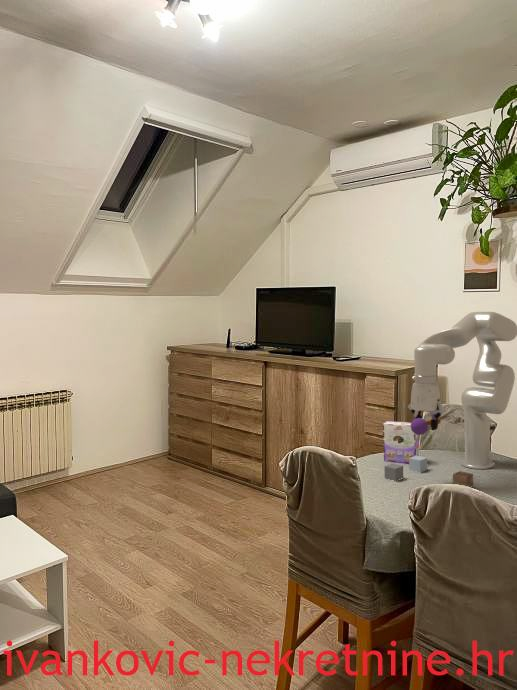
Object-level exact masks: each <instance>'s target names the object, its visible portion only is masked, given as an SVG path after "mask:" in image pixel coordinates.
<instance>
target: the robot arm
mask: <svg viewBox="0 0 517 690" xmlns="http://www.w3.org/2000/svg"><path fill="white" fill-rule="evenodd" d="M474 338H476V342H477V344H478V346H479V347H478V348H479V354H478V357H477V360H476V364H475V366H474V370H473V373H472V382H473V383H474V384H475V385H477V386H479V387H475V386H473V387H468V388H465V389H464V390H463V392H462V394H461V396H460V397H461V405H462V408H463V409H462V411H463V419H464V420H463V421H464V423H463V424H464V458H463V459H461V461H460V463H461V466H463V467H466V468H469V469H475V470H487V469H488V470H489V469H492V468H493V467H495V462H494V461H493V460H491V457H492V456H494V452H493V451H491V430H490V429H491V427H490V426H491V425H490V424H491V423H490V419H489V417H488V415H487V414H491V415H501V414H503V413H504V412H505V411H506V410H507V407H508V404H509V401H510V399H511V396H512V391H513V388H514V385H515V379H516V377H515V371H514V369H513V367H511V366H510V365H507V364H501V360H502V351H501V349H500V347H499V345H498V344H497V343H496V342H511V341H513V340H515V339H516V338H517V323H516V322H515V321H514V320H513V319H511V318H508V317H507V316H505V315H502V314H500V313H498V312H495V311H474V312H469V313H468V314H466V315H465V316H464V317H462V319H460V320H459V321H458V322H457V323H456V324H454V325H453V326H452V327H450V328H446V329H444V330H442V331H439V332H437V333H433V334H432V335H430V336H428V337H427V338H426V339H424V340H423V341H422V342H420V343H419V345H418V346H417V347H415V348H414V352H413V355H414V357H413V358H414V375H412V380H413V381H414V383H412V387H411V394H410V403H409V404H408V405H407V408H408V409H409V411H411V413H412V414H413V417H415V419H417V418H422V419H423V416H422V412H427V413H430V416H431V418H432V420H431V425H430V430H431V431H435V430H438V428H439V424H438V418H440V417H441V416H442V415H443V414H445V413H446V412H447V411H446V408H445V407H444V405H442V401H441V393H440V386H439V383H437V365H441V366H442V365H444V366H445V365H448V364H451V363H452V362H453V361H454V359H455V358H456V353H455V349H456V348H462V347H464V346H466V345H468V344H469V343H470V342H471V341H472V340H474ZM485 387H486V388H485Z"/></svg>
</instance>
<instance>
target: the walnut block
mask: <svg viewBox="0 0 517 690" xmlns="http://www.w3.org/2000/svg"><path fill="white" fill-rule="evenodd" d="M453 484H459V485H465V486H469V487H471V486H473V487H474V473H471V472H466V471H462V470H459V471H457V472H454V473H453V474H452V485H453Z"/></svg>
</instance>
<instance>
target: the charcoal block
mask: <svg viewBox="0 0 517 690" xmlns="http://www.w3.org/2000/svg"><path fill="white" fill-rule="evenodd" d="M385 478H386V479H385ZM401 478H403V479H404V465H400V464H397V463H394V462H391V463H389V464H387V465H385V466H384V479H385V480H387V479H390V480H389V481H391V480H394V481H393V482H395V481H396V482H398V481H400V480H399V479H401ZM397 480H398V481H397ZM401 480H402V479H401Z"/></svg>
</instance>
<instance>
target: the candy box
mask: <svg viewBox="0 0 517 690" xmlns="http://www.w3.org/2000/svg"><path fill="white" fill-rule="evenodd" d="M419 436H420V435H417V434H415V433H414V432H413V431H412V430H411V422H406V421H391V420H389V421H388V420H387V421H385V422H384V423H382V439H383V462H389V461H391V463H399V462H401V463H400V464H409V458H411V457H414V456H420V443H419V441H420V440H419V439H420V438H419Z"/></svg>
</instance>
